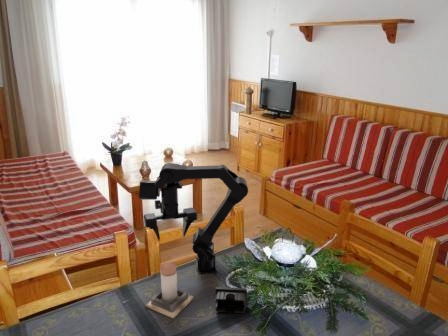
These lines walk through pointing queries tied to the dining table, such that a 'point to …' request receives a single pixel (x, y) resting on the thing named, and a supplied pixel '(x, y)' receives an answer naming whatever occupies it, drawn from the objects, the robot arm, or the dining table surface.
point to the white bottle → (169, 282)
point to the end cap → (230, 301)
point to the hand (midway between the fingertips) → (171, 238)
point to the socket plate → (167, 308)
